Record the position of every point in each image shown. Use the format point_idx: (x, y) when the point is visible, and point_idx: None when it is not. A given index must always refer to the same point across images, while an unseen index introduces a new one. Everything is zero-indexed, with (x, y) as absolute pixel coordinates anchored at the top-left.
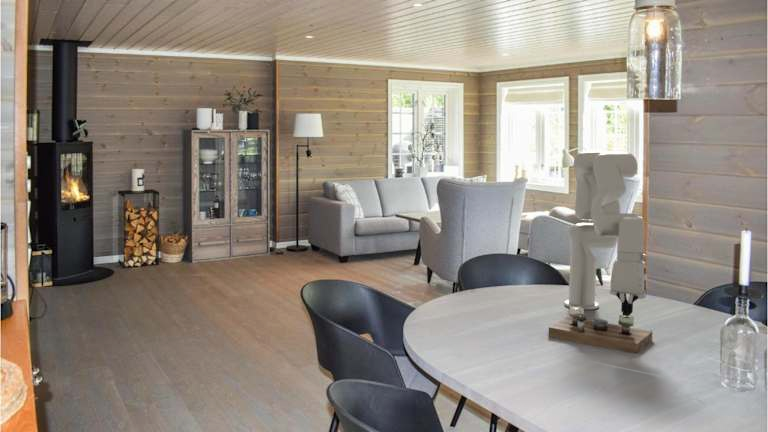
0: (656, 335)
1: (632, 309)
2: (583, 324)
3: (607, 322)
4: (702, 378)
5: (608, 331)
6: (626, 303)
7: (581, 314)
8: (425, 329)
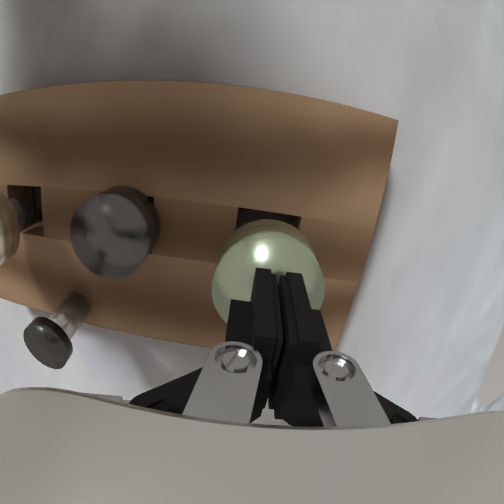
0: (380, 18)
1: (322, 323)
2: (73, 333)
3: (146, 246)
4: (453, 401)
5: (172, 242)
6: (271, 406)
7: (8, 249)
8: None
